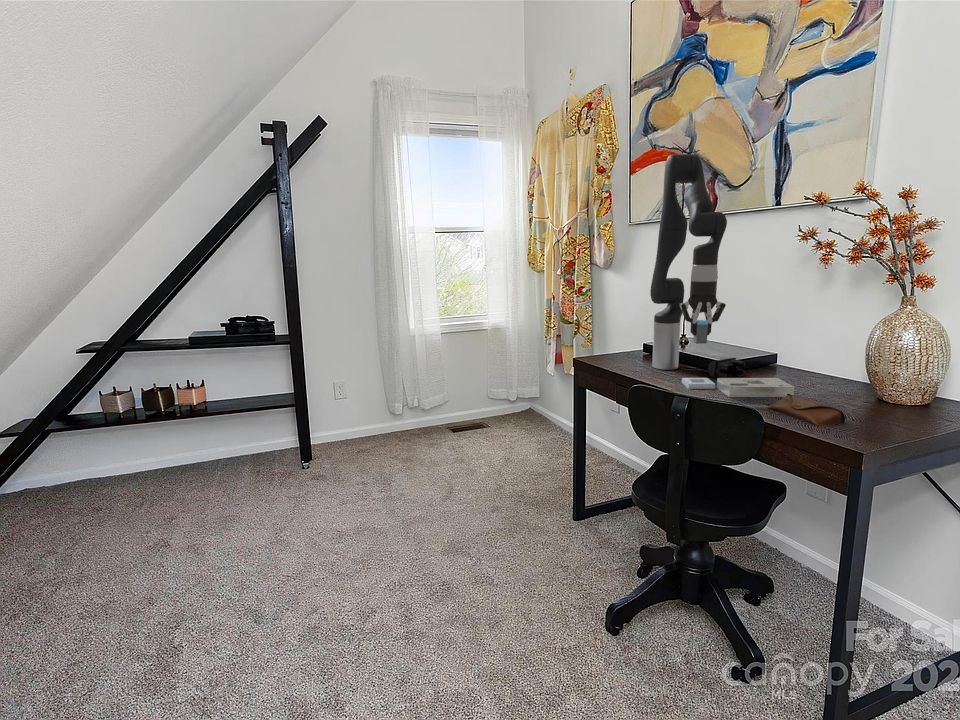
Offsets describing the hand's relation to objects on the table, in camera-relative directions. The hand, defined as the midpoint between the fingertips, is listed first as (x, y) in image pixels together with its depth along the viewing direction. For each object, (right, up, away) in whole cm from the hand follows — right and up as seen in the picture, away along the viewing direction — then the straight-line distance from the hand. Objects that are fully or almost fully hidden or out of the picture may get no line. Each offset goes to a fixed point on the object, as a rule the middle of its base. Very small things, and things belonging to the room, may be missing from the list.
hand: (700, 334), depth 170 cm
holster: (+1, -17, +3) cm, 17 cm away
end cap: (+15, -15, +15) cm, 26 cm away
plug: (0, -2, 0) cm, 2 cm away
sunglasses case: (+17, -23, -25) cm, 38 cm away
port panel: (+14, -19, -6) cm, 24 cm away
